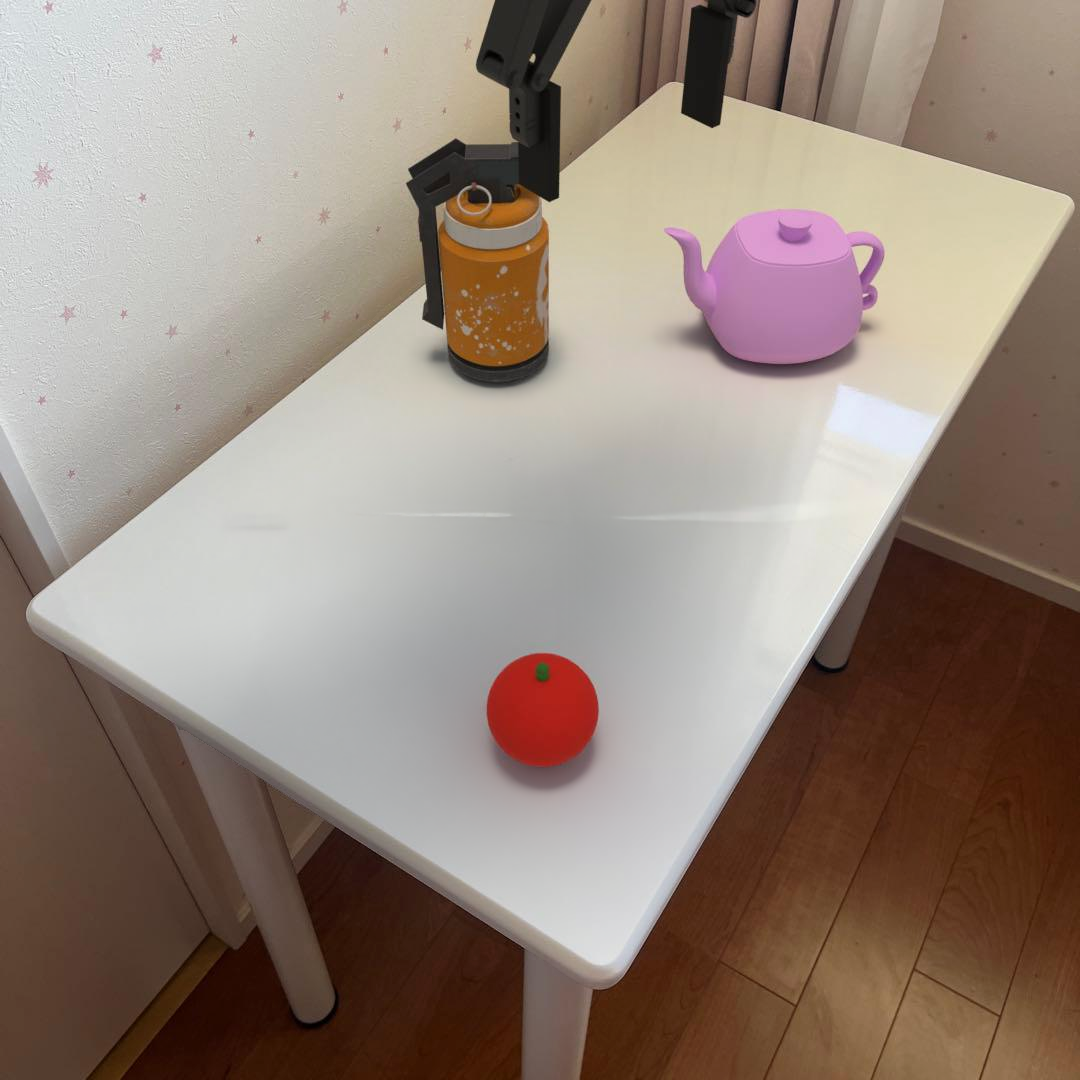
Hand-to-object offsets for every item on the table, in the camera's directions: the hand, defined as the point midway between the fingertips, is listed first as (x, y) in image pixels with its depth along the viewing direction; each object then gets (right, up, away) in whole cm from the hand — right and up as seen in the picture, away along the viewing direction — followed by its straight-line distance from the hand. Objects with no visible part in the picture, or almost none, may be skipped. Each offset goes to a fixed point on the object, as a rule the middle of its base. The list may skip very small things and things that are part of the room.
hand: (623, 154), depth 67 cm
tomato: (-5, -36, +4) cm, 37 cm away
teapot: (+15, -5, +34) cm, 38 cm away
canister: (-10, -7, +32) cm, 34 cm away
